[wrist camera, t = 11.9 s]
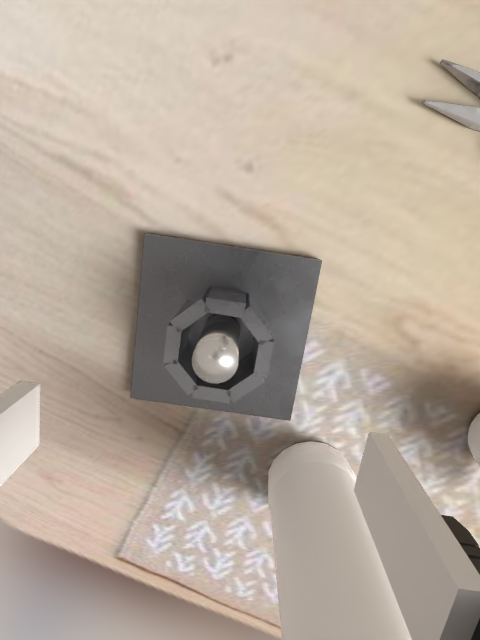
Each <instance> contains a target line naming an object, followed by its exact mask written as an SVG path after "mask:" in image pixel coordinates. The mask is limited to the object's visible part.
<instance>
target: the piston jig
mask: <svg viewBox="0 0 480 640" xmlns="http://www.w3.org/2000/svg"><path fill="white" fill-rule="evenodd" d="M321 263H322V260H320V259H314V258H307V257H301V256H294V255H287V254H281V253H274V252H268V251H261V250H255V249H248V248H241V247H235V246H228V245H222V244H215V243H209V242H202V241H195V240H189V239H182V238H176V237H169V236H163V235H156V234H149V233H145V234H144V246H143V257H142V269H141V281H140V292H139V304H138V315H137V327H136V339H135V350H134V362H133V373H132V385H131V396H130V398H135V399H142V400H149V401H156V402H163V403H170V404H177V405H184V406H191V407H198V408H205V409H212V410H219V411H226V412H233V413H240V414H247V415H254V416H261V417H268V418H275V419H282V420H289V421H290V419H291V414H292V409H293V404H294V399H295V394H296V389H297V384H298V379H299V374H300V369H301V364H302V359H303V354H304V349H305V344H306V339H307V334H308V329H309V324H310V319H311V314H312V309H313V304H314V299H315V294H316V289H317V284H318V278H319V273H320V268H321ZM212 286H213V287H219V288H226V289H232V290H238V291H244V292H246V296H247V295H248V294H250V296H251V297H252V298H253V300H254V301H255V302H256V304H257V305H258V307H259V308H260V309H261V311H262V312H263V313H264V315H265V316H266V318H267V319H268V320H269V324H270V328H271V332H272V336H273V340H274V345H273V350H272V355H271V361H270V366H269V371H268V376H267V378H264V383H263V384H261V385H260V386H258V387H257V388H255V389H254V390H252V391H251V392H249V393H247V394H246V395H244V396H243V397H241V398H240V399H238V400H237V401H235V402H233V401H232V400H231V398H230V402H229V403H222V402H216V401H209V400H203V399H196V398H192V395H193V392H192V393H191V394H190V395H187V394H186V393H185V391H184V390H183V389H182V388H181V386H180V385H179V384H178V383H177V381H176V380H175V379H174V378H173V377H172V375H171V374H170V373H169V372H168V370H167V369H166V368H165V365H166V363H165V362H163V360H164V351H165V343H166V334H167V326H168V324H169V323H170V321H171V319H172V318H173V317H174V316H175V315H176V313H177V312H178V311H179V310H180V308H181V307H182V306H183V305H185V304H186V303H188V302H189V301H190V300H192V299H193V298H194V297H196V296H197V295H199V294H200V293H201V292H203V291H204V290H205V289H207V288H209V289H210V290H211V288H212ZM254 339H255V337H254V336H253V334H252V333H251V332H250V330H249V329H248V328H247V326H246V325H245V324H244V322H243V321H242V319H241V318H239V317H233V316H227V315H220V314H214V313H208V312H207V313H206V314H205V315H203V316H202V317H201V318H199V319H198V320H196V321H195V322H194V323H192V324H191V325H190V331H189V338H188V341H189V342H190V344H191V345H192V346H193V348H194V349H195V350H194V353H193V356H192V366H193V369H194V371H195V373H196V374H197V375H198V377H200V378H201V379H202V380H204V381H206V382H209V383H222V382H225V381H227V380H229V379H230V378H231V377H232V376H233V375H234V374H235V372H236V370H237V368H238V360H240V359H241V358H243V357H244V356H245V355H247V354H248V353H250V352H251V351H252V350H253V344H254Z"/></svg>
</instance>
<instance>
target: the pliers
mask: <svg viewBox="0 0 480 640" xmlns="http://www.w3.org/2000/svg"><path fill="white" fill-rule="evenodd" d="M440 64H442V65H443V66H444V67H445V68H446V69H447V70H448V71H449V72H450V73H452V74H453V75H454V76H455V77H456V78H457V79H458V80H459V81H460V82H462V83H463V84H464V85H465V86H466V87H467V88H468V89H469V90H470V91H472V92H473V93H474V94H475V95H476V96H478V97H479V98H480V72H478V71H475V70H472V69H469V68H466V67H463V66H461V65H458V64H455V63H452V62H449V61H446V60H442V61H441V62H440ZM422 103H423V104H425V105H427V106H429V107H431V108H432V109H434V110H436V111H438V112H440V113H442V114H444V115H446V116H448V117H450V118H452V119H454V120H455V121H457V122H459V123H461V124H463V125H465V126H467V127H469V128H471V129H474V130H477V131H480V108H478V107H471V106H464V105H457V104H449V103H442V102H435V101H428V100H424V101H423V102H422Z"/></svg>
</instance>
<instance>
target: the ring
mask: <svg viewBox="0 0 480 640" xmlns="http://www.w3.org/2000/svg"><path fill="white" fill-rule="evenodd" d="M207 312H208V313H214V314H220V315H227V316H233V317H239V318H241V319H242V321H243V322H244V324H245V325H246V326H247V328H248V329H249V330H250V332H251V333H252V334H253V336H254V337H255V339H254V344H253V350H252V351H251V352H250V353H248V354H247V355H245V356H244V357H243V358H241V359H240V360H238V368H237V370H236V372H235V374H234V375H233V376H232V377H231V378H230V379H229V380H227V381H225V382H222V383H209V382H206V381H204V380H202V379H201V378H200V377H198V375H197V374H196V373H195V371H194V369H193V366H192V356H193V353H194V350H195V349H194V348H193V346H192V345H191V344H190V342H189V341H188V338H189V331H190V325H191V324H192V323H194V322H195V321H196V320H198V319H199V318H201V317H202V316H203V315H205V314H206V313H207ZM273 345H274V340H273V336H272V332H271V328H270V324H269V320H268V319H267V318H266V316H265V315H264V313H263V312H262V311H261V309H260V308H259V307H258V305H257V304H256V302H255V301H254V300H253V298H252V297H251V296H250V294H248V295H247V296H246V292H244V291H238V290H232V289H226V288H219V287H213V286H212V288H211V290H210V289H209V288H207V289H205V290H204V291H203V292H201V293H200V294H199V295H197V296H196V297H194V298H193V299H192V300H190V301H189V302H188V303H186V304H185V305H183V306H182V307H181V308H180V310H179V311H178V312H177V313H176V315H175V316H174V317H173V318H172V319H171V321H170V323H169V324H168V326H167V334H166V343H165V351H164V360H163V362H165V363H166V365H165V368H166V369H167V370H168V372H169V373H170V374H171V375H172V377H173V378H174V379H175V380H176V381H177V383H178V384H179V385H180V386H181V388H182V389H183V390H184V391H185V393H186V394H187V395H190V394H191V393H192V392H193V395H192V398H196V399H203V400H209V401H216V402H222V403H229V402H230V398H231V400H232V401H233V402H235V401H237V400H238V399H240V398H241V397H243V396H244V395H246V394H247V393H249V392H251V391H252V390H254V389H255V388H257V387H258V386H260V385H261V384H263V383H264V378H267V376H268V371H269V366H270V361H271V355H272V350H273Z"/></svg>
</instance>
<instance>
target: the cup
mask: <svg viewBox="0 0 480 640" xmlns="http://www.w3.org/2000/svg"><path fill="white" fill-rule="evenodd" d="M468 445H469V449H470V451H471V454H472V456H473V457H474V459H475V460H476V462H477V463H478V465H479V466H480V413H479V414H478V415H477V416H476V417H475V418H474V420H473V421H472V423H471V425H470V428H469V431H468Z"/></svg>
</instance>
